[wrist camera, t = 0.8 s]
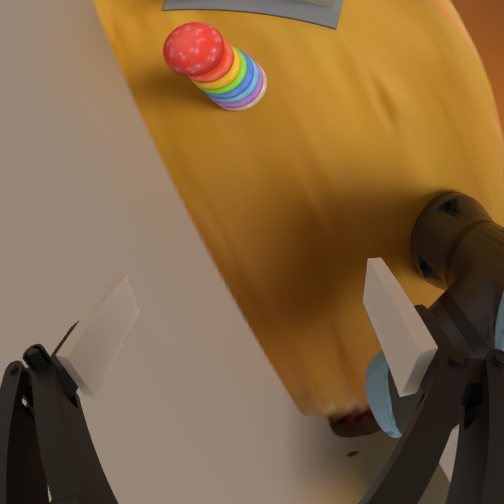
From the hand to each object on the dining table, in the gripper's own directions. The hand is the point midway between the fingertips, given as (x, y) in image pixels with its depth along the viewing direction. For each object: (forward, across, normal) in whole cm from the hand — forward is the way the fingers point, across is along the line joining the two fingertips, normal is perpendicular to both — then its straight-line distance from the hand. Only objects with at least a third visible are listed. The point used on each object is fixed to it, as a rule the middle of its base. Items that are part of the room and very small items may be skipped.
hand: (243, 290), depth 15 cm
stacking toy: (+27, +1, -14) cm, 31 cm away
